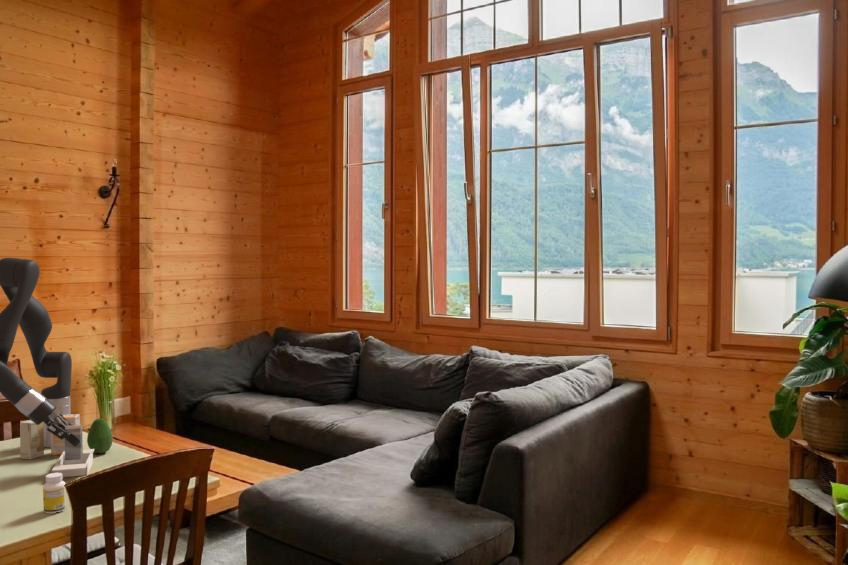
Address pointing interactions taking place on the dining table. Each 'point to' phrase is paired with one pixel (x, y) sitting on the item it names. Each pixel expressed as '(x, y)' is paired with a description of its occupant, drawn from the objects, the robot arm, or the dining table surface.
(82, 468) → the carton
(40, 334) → the robot arm
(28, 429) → the skincare box
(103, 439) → the avocado
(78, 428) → the capped block
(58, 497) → the supplement bottle
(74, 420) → the supplement box
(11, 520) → the dining table surface
